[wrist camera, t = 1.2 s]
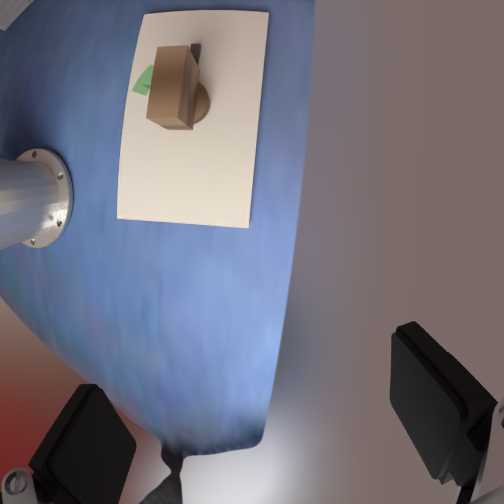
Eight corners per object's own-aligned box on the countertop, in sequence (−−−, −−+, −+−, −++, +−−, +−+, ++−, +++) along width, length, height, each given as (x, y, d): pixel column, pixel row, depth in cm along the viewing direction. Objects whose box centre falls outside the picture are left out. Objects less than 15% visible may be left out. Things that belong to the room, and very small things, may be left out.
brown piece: (207, 134, 27) (190, 117, 19) (163, 133, 27) (133, 118, 19) (218, 46, 25) (207, 7, 17) (176, 46, 25) (154, 10, 17)
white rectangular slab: (248, 226, 31) (248, 228, 30) (122, 216, 31) (116, 218, 29) (268, 18, 25) (269, 11, 24) (147, 20, 25) (143, 13, 24)
